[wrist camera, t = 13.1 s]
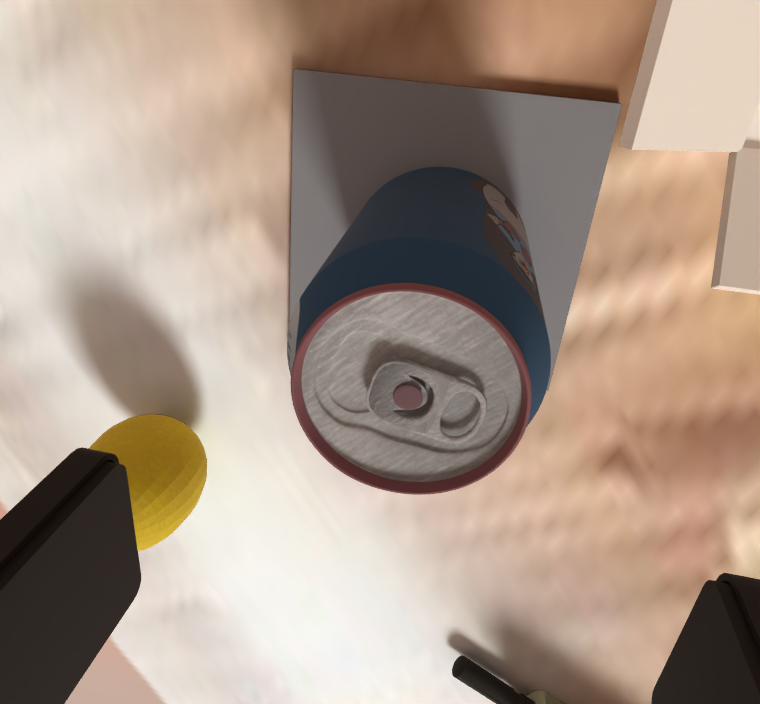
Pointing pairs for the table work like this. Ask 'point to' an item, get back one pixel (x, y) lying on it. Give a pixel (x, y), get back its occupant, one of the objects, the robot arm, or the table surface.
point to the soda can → (422, 337)
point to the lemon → (157, 472)
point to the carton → (708, 113)
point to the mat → (448, 165)
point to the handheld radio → (495, 685)
